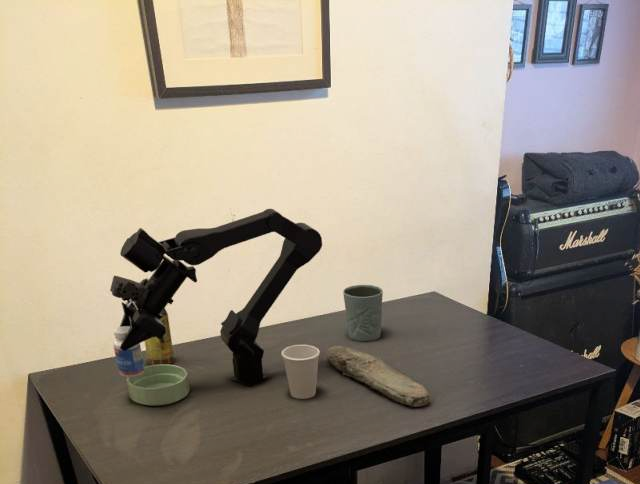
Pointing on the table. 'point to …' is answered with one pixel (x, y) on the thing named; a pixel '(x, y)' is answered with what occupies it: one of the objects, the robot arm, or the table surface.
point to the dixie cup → (301, 370)
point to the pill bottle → (127, 355)
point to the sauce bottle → (160, 345)
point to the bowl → (159, 385)
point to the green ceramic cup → (363, 312)
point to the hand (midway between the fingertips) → (119, 344)
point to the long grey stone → (377, 375)
